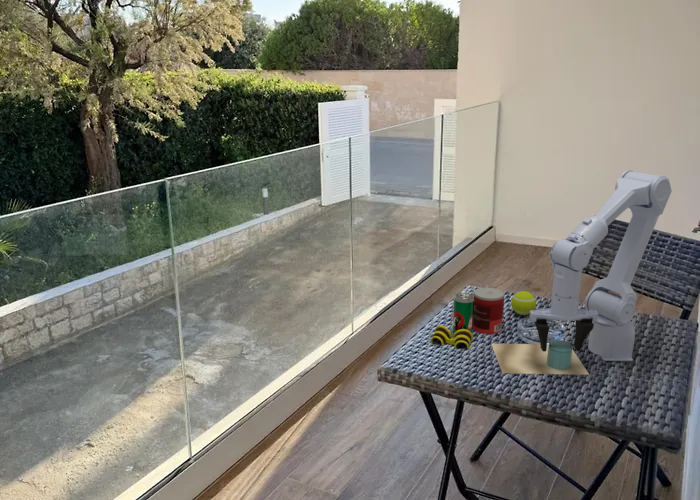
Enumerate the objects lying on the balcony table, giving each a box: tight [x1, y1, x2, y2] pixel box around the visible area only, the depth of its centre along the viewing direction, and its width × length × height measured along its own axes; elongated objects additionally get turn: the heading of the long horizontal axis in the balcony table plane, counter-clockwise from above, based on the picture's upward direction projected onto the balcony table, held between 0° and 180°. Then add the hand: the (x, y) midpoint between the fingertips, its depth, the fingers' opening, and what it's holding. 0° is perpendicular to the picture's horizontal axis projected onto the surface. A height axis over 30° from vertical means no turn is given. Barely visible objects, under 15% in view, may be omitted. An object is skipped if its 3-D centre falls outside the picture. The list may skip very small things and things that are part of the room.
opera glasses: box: [430, 324, 474, 350], centre depth 151 cm, size 10×5×5 cm, turn 67°
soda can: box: [451, 292, 474, 336], centre depth 154 cm, size 5×5×12 cm
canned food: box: [473, 287, 505, 335], centre depth 159 cm, size 8×8×11 cm
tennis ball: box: [510, 290, 537, 316], centre depth 170 cm, size 7×7×7 cm
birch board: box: [491, 343, 590, 376], centre depth 143 cm, size 19×15×1 cm
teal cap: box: [547, 339, 573, 370], centre depth 139 cm, size 5×5×5 cm
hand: (560, 349), depth 139 cm, fingers open, 7 cm apart
